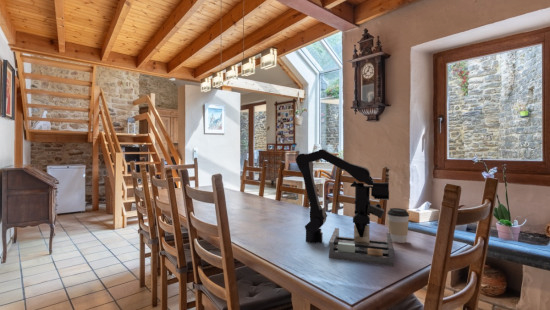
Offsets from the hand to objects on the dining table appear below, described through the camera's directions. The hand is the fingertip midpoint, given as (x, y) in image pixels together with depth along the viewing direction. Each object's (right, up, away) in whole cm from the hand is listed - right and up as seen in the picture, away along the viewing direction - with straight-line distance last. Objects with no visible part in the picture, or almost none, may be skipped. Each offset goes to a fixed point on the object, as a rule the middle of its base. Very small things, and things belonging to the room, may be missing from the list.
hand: (361, 236), depth 121 cm
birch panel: (0, -4, 0) cm, 4 cm away
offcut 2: (0, -5, -15) cm, 16 cm away
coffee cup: (+19, -6, +10) cm, 22 cm away
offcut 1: (-9, -5, -12) cm, 16 cm away
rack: (-2, -6, -7) cm, 9 cm away
